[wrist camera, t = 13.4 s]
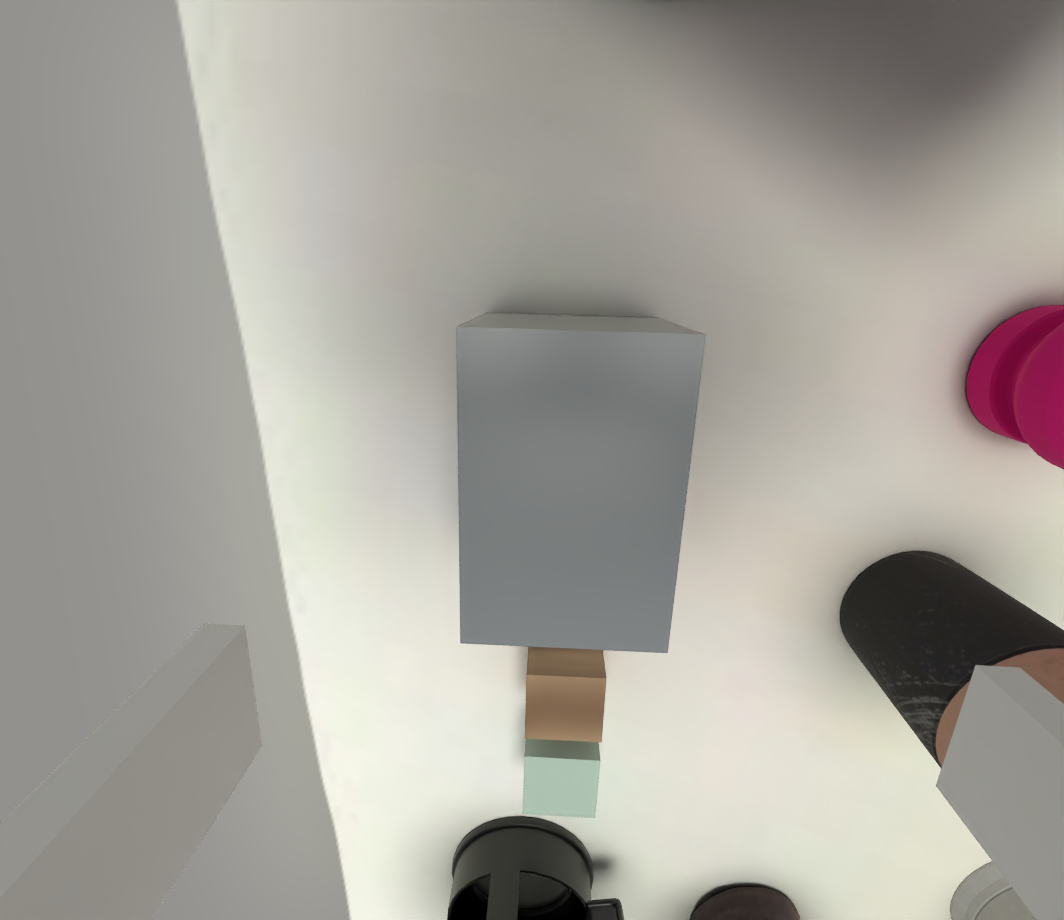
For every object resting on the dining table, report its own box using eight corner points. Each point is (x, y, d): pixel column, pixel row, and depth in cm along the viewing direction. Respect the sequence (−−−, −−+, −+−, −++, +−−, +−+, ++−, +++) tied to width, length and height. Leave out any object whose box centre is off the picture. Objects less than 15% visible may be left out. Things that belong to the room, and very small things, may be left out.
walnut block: (529, 628, 32) (526, 674, 28) (600, 631, 32) (606, 678, 28) (528, 686, 33) (525, 738, 29) (596, 689, 33) (601, 742, 29)
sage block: (528, 702, 34) (524, 756, 30) (594, 706, 34) (600, 760, 30) (525, 755, 35) (522, 813, 31) (590, 759, 35) (595, 817, 31)
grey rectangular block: (487, 312, 27) (456, 326, 18) (656, 317, 26) (705, 334, 18) (487, 541, 30) (460, 643, 22) (635, 547, 30) (667, 653, 22)
